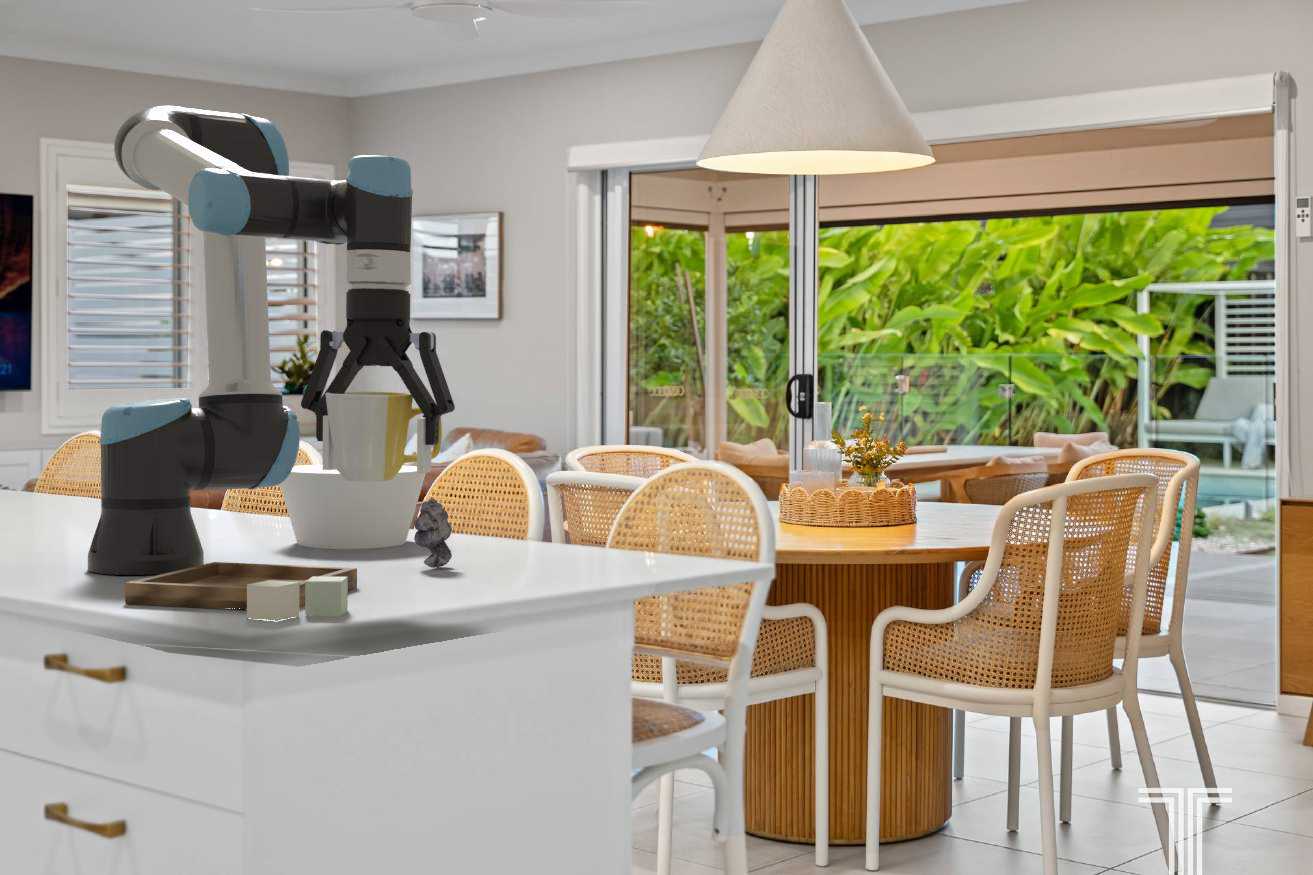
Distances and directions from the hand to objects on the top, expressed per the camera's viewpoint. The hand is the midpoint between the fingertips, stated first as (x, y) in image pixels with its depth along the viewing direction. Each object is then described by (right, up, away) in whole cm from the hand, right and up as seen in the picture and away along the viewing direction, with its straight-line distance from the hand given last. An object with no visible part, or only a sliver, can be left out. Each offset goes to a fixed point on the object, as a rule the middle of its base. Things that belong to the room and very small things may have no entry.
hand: (376, 471), depth 173 cm
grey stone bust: (+2, -15, +31) cm, 34 cm away
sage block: (-4, -16, -9) cm, 19 cm away
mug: (+1, -1, 0) cm, 1 cm away
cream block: (-9, -16, -13) cm, 23 cm away
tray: (-17, -15, +3) cm, 23 cm away
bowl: (-16, -13, +60) cm, 64 cm away
